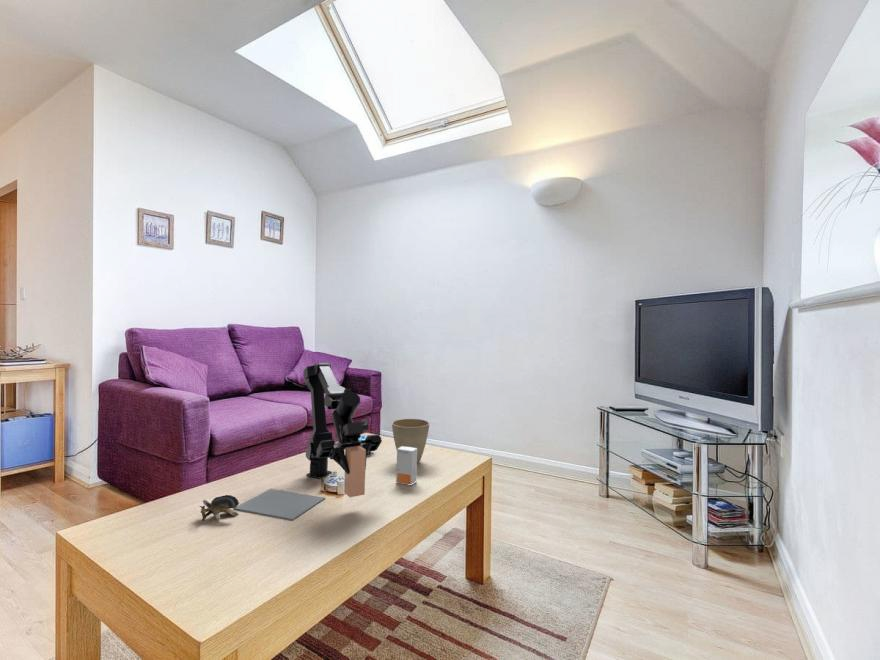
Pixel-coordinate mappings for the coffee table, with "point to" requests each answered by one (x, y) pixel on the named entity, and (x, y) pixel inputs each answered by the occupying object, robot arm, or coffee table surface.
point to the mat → (280, 504)
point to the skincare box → (406, 465)
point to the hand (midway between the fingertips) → (356, 471)
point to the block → (355, 471)
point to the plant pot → (411, 434)
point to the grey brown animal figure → (219, 506)
